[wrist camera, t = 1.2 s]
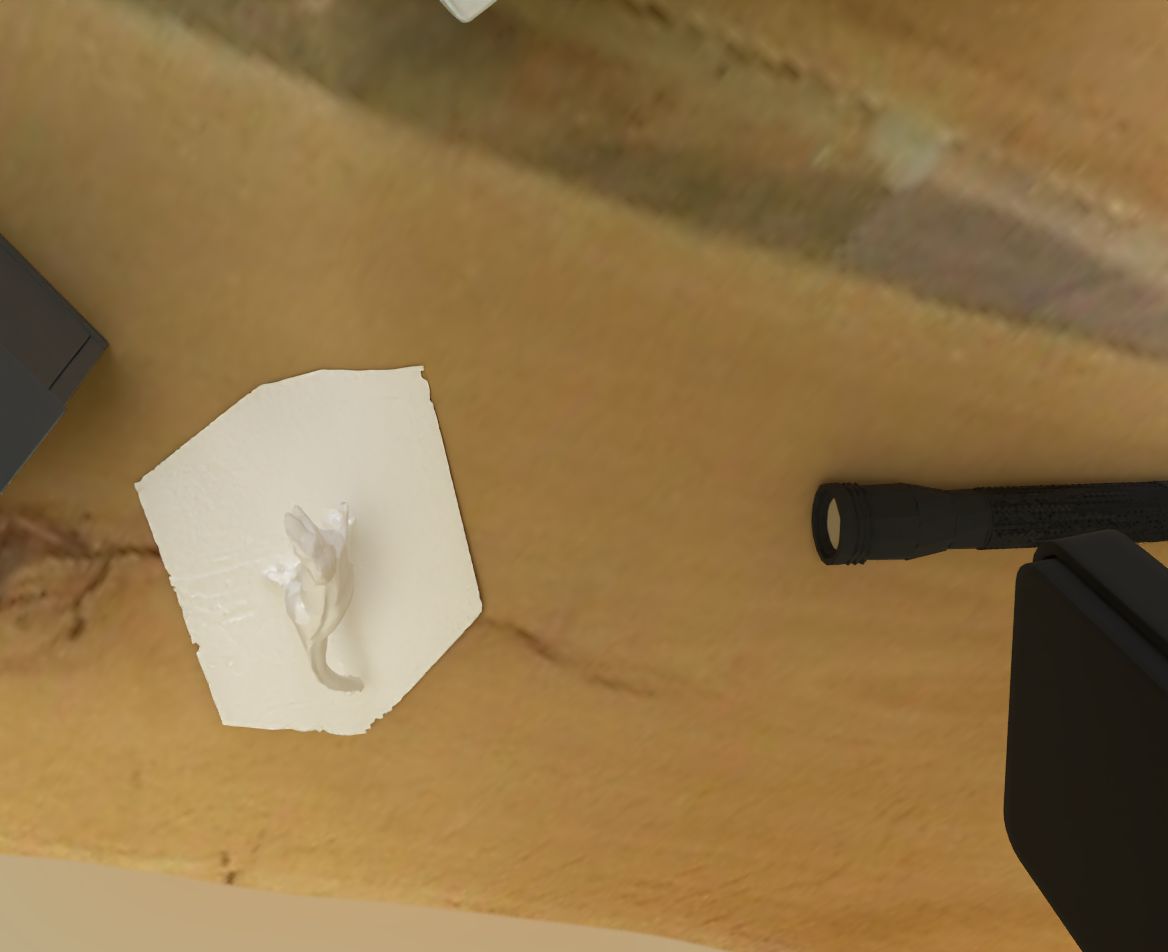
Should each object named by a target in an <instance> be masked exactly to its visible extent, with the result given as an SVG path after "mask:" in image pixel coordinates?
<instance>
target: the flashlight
mask: <svg viewBox="0 0 1168 952" xmlns="http://www.w3.org/2000/svg"><path fill="white" fill-rule="evenodd" d="M1106 529H1111V530H1117V531H1119V532H1121V533H1123V534H1125V535H1126V536H1128V537H1129V538H1130V539H1131V540H1133V541H1134V542H1136V543H1139V542H1142V543H1143V542H1146V543H1147V542H1149V541H1150V542H1158V541H1168V481H1153V482H1136V483H1133V482H1132V483H1130V482H1129V483H1103V484H1088V485H1087V484H1083V485H1082V484H1078V485H1074V484H1072V485H1051V486H1041V485H1040V486H1039V487H1038V486H1036V487H1035V486H1021V487H1016V486H1015V487H1010V488H1009V487H1008V486H1007V487H1006V488H1003V487H994V488H991V487H988V488H984V489H983V487H982V488H979V487H978V488H973V489H959V490H945V491H943V490H940V489H934V488H928V487H922V486H916V485H910V484H904V483H898V484H883V485H867V486H860V485H858V484H856V483H854V484H851V483H849V482H848V483H847V484H846V483H843V484H839V483H828V484H824V485H821V486H820V487H819V489H818V491H817V492H816V495H815V499H814V503H813V510H812V530H813V537H814V541H815V546H816V550H817V552H818V554H819V556H820V558H821V560H822V561H823V562H824V563H825V564H826V565H840V564H846V565H849V564H850V563H852V564H854V565H856V564H857V563H860V564H862V565H863V564H864V563H865V562H866V560H895V559H904V560H910V559H914V558H918V557H922V556H926V555H930V554H934V553H938V552H942V551H946V550H947V549H977V550H986V549H1011V548H1030V547H1031V548H1035V547H1038V546H1039V545H1041V544H1042V543H1044V542H1045V541H1051V540H1056V539H1061V538H1066V537H1071V536H1076V535H1081V534H1086V533H1091V532H1096V531H1101V530H1106Z"/></svg>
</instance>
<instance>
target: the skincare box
mask: <svg viewBox="0 0 1168 952" xmlns="http://www.w3.org/2000/svg"><path fill="white" fill-rule="evenodd" d="M439 1H440V2H441V3H442V4H443V5H444V6H445V7H446V8H447V10H448V11H449V12H450V13H451V14H452V15H453V16H454V17H455V18H457V19H458V20H460V21H461V22H463V23H466V22H470V21H472V20H473V19H474V18H475V17H477V16H478V15H479V14H481V13H482V12H483V11H484V10H486V9H487V8H488V7H490V6H491V5H492V4H493V3H495V2H496V1H497V0H439Z"/></svg>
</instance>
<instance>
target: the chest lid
mask: <svg viewBox="0 0 1168 952" xmlns="http://www.w3.org/2000/svg"><path fill="white" fill-rule="evenodd" d="M66 410H67V407H66V406H65V405H64V404H63V403H62V402H61V401H60V400H59V399H58V398H57V397H56V396H55V395H54V394H52V393H51V392H50V391H49V390H48V389H47V388H46V387H45V386H44V385H43V384H42V383H41V382H40V381H39V380H38V379H37V378H36V377H35V376H34V375H33V374H31V373H30V372H29V371H28V370H27V369H26V368H25V367H24V366H23V365H22V364H21V363H20V362H19V361H18V360H17V359H16V358H15V357H14V356H13V355H12V354H10V353H9V352H8V351H7V350H6V349H5V348H4V347H3V346H2V345H1V344H0V495H1V494H2V492H3V491H4V490H5V489H6V487H7V486H8V485H9V483H10V482H11V481H12V480H13V478H14V477H15V476H16V474H17V473H18V472H19V471H20V469H21V468H22V467H23V465H24V464H25V463H26V462H27V460H28V459H29V458H30V456H31V455H32V454H33V453H34V451H35V450H36V449H37V447H38V446H39V445H40V444H41V442H42V441H43V440H44V439H45V437H46V436H47V435H48V433H49V432H50V431H51V430H52V428H53V427H54V426H55V424H56V423H57V422H58V421H59V419H60V418H61V417H62V415H63V414H64V413H65V412H66Z"/></svg>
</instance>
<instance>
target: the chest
mask: <svg viewBox="0 0 1168 952" xmlns="http://www.w3.org/2000/svg"><path fill="white" fill-rule="evenodd" d="M0 344H1V345H2V346H3V347H4V348H5V349H6V350H7V351H8V352H9V353H10V354H12V355H13V356H14V357H15V358H16V359H17V360H18V361H19V362H20V363H21V364H22V365H23V366H24V367H25V368H26V369H27V370H28V371H29V372H30V373H31V374H33V375H34V376H35V377H36V378H37V379H38V380H39V381H40V382H41V383H42V384H43V385H44V386H45V387H46V388H47V389H48V390H49V391H50V392H51V393H52V394H54V395H55V396H56V397H57V398H58V399H59V400H60V401H61V402H62V403H63V404H64V405H66V404H67V402H68V401H69V400H70V398H71V397H72V395H73V394H74V393H75V391H76V390H77V389H78V387H79V386H80V384H81V383H82V382H83V380H84V379H85V377H86V376H87V375H88V373H89V372H90V370H91V369H92V368H93V366H94V365H95V364H96V362H97V361H98V359H99V358H100V357H101V355H102V354H103V352H104V351H105V350H106V348H107V347H108V345H109V344H108V342H107V341H106V340H105V339H104V338H103V337H102V336H101V335H100V334H99V333H98V332H97V331H96V330H95V329H94V328H93V327H92V326H91V325H90V324H89V323H88V322H87V321H86V320H85V319H84V318H83V317H82V316H81V315H80V314H79V313H78V312H77V311H76V310H75V309H74V308H73V307H72V306H71V305H70V304H69V303H68V302H67V301H66V300H65V299H64V298H63V297H62V296H61V295H60V294H59V293H58V292H57V291H56V290H55V289H54V288H53V287H52V286H51V285H50V284H49V283H48V282H47V281H46V280H45V279H44V278H43V277H42V276H41V275H40V274H39V273H38V272H37V271H36V270H35V269H34V268H33V267H32V266H31V265H30V264H29V263H28V262H27V261H26V260H25V259H24V258H23V257H22V256H21V255H20V254H19V253H18V252H17V251H16V250H15V249H14V248H13V247H12V246H11V245H10V244H9V243H8V242H7V241H6V240H5V239H4V238H3V237H2V236H1V235H0Z"/></svg>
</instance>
